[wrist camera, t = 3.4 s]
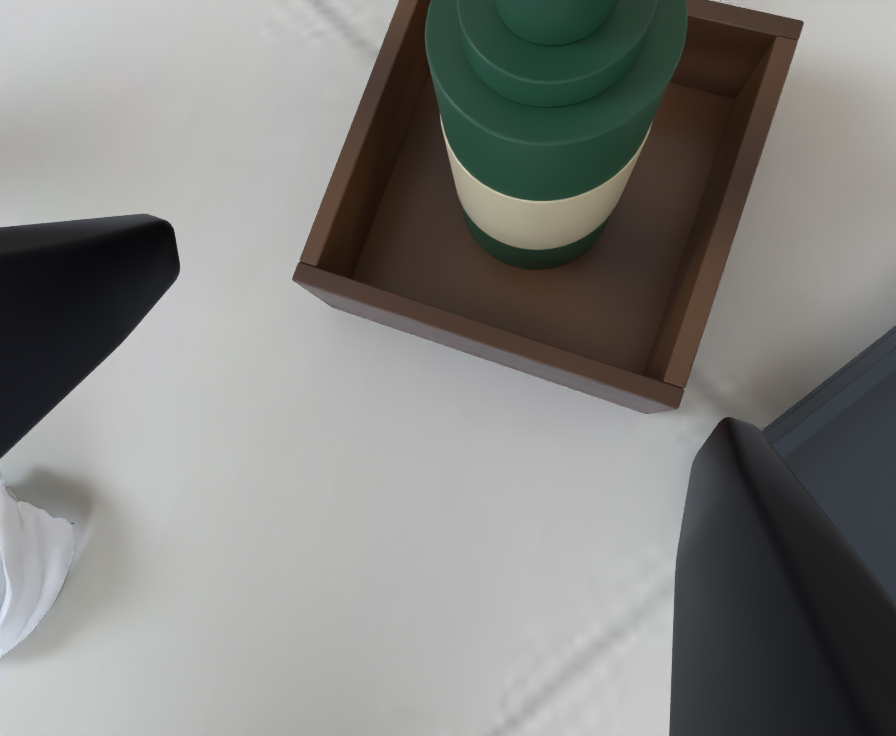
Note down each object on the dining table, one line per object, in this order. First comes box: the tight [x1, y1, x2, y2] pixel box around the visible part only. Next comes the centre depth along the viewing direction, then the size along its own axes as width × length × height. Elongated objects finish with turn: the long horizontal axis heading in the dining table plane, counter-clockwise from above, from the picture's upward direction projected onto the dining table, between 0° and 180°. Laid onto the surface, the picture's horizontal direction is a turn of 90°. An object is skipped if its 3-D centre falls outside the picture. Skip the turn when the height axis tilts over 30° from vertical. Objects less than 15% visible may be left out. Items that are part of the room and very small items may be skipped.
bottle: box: [425, 0, 687, 269], centre depth 15 cm, size 6×6×13 cm
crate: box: [292, 0, 804, 414], centre depth 20 cm, size 13×13×4 cm
